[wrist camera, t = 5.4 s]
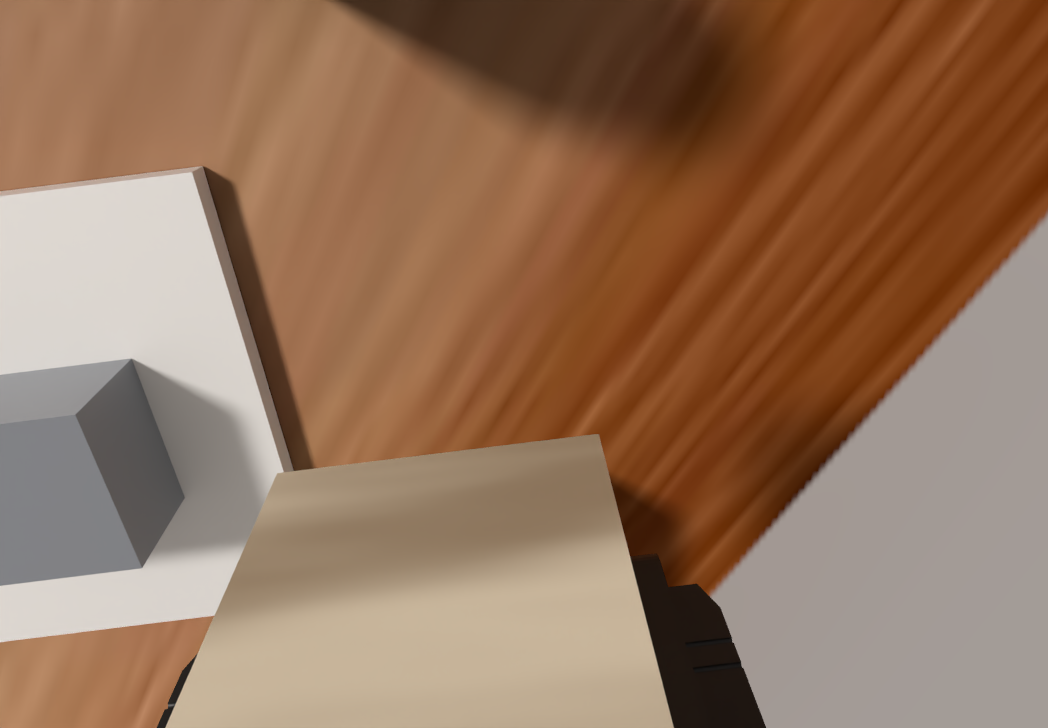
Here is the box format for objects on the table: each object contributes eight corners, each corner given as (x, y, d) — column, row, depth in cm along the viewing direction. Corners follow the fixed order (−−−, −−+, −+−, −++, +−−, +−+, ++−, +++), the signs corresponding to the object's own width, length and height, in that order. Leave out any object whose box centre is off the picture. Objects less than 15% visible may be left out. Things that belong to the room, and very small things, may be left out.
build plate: (-221, 219, 24) (-381, 267, 20) (202, 166, 24) (139, 201, 20) (8, 625, 32) (-70, 725, 28) (327, 585, 32) (302, 679, 28)
